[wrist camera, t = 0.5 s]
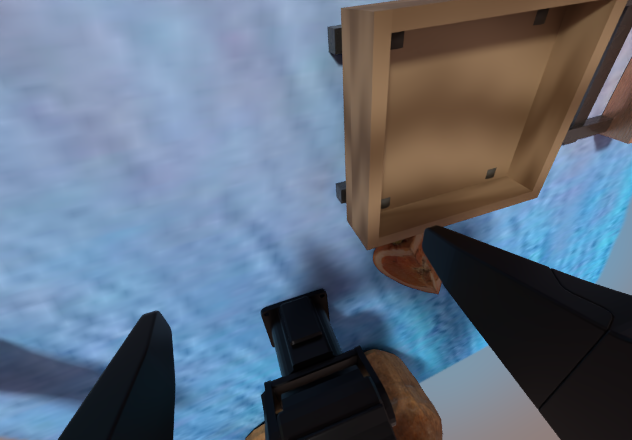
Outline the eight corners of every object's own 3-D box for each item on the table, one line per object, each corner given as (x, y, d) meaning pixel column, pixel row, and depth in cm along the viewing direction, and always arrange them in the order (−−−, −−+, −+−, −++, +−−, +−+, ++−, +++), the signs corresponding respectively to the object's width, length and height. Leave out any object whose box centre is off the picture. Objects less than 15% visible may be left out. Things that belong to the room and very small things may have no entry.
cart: (495, 172, 26) (537, 197, 22) (343, 215, 23) (367, 250, 20) (559, -23, 17) (639, -26, 14) (335, 7, 15) (374, 11, 12)
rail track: (605, 130, 29) (640, 142, 27) (337, 203, 24) (352, 225, 21) (695, -38, 21) (755, -41, 19) (326, 13, 16) (349, 17, 14)
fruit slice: (350, 232, 26) (376, 272, 22) (414, 186, 25) (453, 220, 22) (384, 275, 32) (410, 313, 28) (438, 239, 31) (472, 273, 27)
